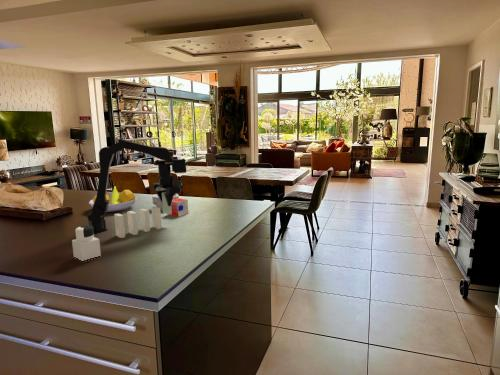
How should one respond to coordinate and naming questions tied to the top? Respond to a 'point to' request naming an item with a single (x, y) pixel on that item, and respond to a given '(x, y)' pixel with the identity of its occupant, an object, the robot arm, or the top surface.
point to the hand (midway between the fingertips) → (166, 205)
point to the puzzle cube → (179, 207)
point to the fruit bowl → (118, 200)
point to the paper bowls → (158, 202)
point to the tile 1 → (119, 225)
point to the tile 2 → (132, 222)
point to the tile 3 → (144, 220)
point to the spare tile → (166, 205)
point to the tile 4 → (156, 217)
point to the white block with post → (85, 243)
